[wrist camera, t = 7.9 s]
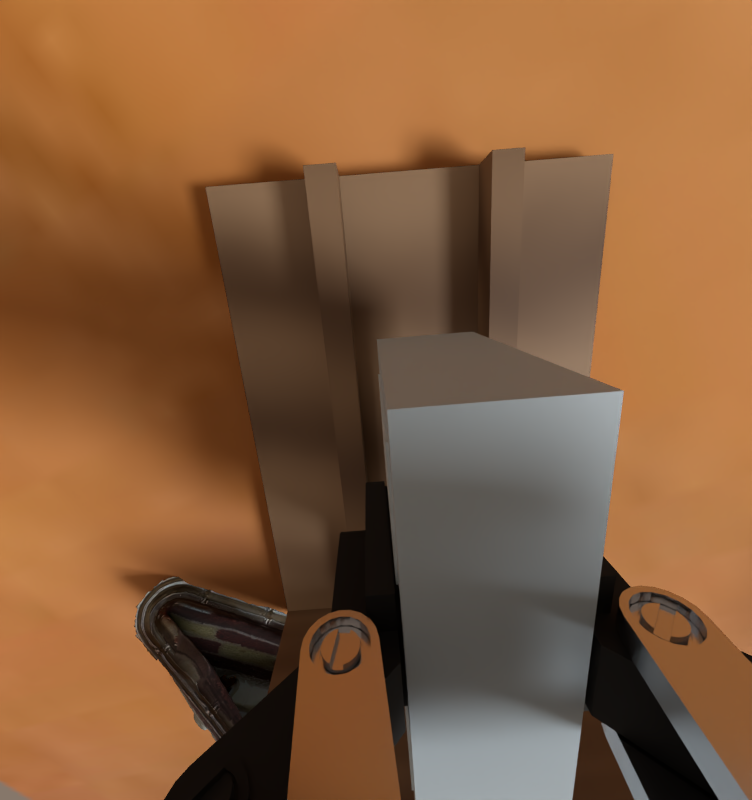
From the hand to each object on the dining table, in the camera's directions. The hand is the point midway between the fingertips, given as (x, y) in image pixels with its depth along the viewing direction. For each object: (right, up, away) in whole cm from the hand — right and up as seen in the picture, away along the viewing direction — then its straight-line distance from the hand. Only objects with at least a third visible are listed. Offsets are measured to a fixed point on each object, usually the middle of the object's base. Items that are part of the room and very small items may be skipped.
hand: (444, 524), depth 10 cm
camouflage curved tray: (-9, -11, +11) cm, 18 cm away
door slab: (0, +1, +3) cm, 3 cm away
